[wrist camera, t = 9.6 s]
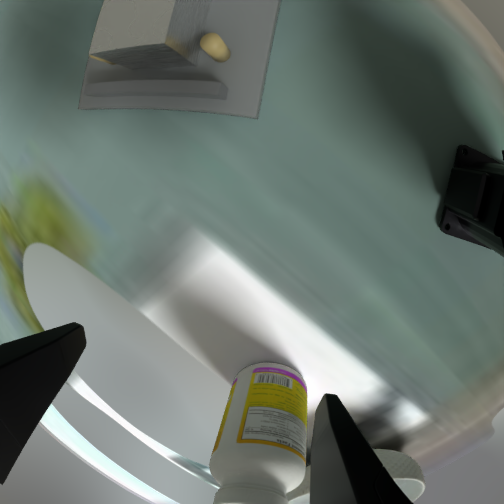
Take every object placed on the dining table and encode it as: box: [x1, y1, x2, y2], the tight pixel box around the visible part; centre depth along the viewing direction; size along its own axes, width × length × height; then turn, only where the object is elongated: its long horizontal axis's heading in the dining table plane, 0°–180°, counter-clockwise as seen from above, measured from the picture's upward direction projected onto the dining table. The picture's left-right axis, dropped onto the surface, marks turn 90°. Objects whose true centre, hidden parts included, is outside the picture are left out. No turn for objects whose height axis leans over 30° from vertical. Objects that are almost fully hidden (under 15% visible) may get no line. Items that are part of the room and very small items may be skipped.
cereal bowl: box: [286, 449, 425, 504], centre depth 24 cm, size 17×17×7 cm
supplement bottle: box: [209, 363, 307, 504], centre depth 18 cm, size 7×7×13 cm
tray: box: [78, 0, 281, 119], centre depth 13 cm, size 14×16×4 cm
